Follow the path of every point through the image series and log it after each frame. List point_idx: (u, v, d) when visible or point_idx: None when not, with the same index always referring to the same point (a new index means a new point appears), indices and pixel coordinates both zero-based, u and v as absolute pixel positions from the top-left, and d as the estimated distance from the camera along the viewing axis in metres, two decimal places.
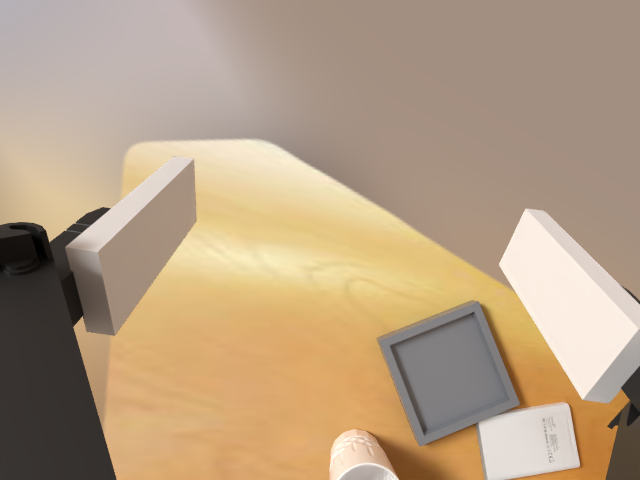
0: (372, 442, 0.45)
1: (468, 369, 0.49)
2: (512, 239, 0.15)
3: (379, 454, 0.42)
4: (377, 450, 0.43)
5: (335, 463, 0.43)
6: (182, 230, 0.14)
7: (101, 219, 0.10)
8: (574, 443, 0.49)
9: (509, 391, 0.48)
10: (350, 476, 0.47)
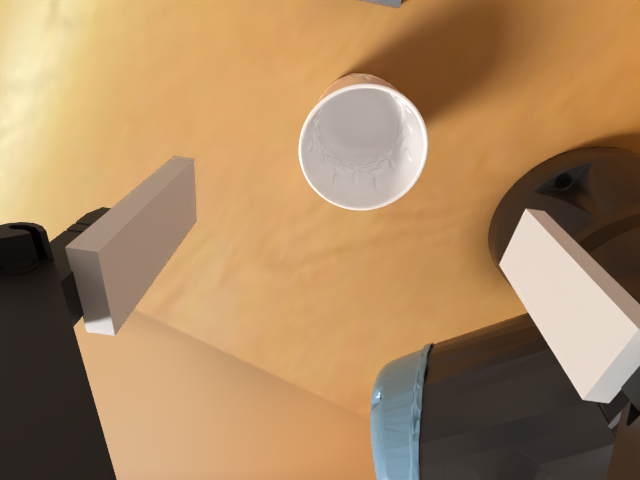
0: (333, 84, 0.27)
1: None
2: (512, 239, 0.15)
3: (333, 87, 0.24)
4: (333, 85, 0.25)
5: None
6: (182, 230, 0.14)
7: (101, 219, 0.10)
8: None
9: None
10: (369, 141, 0.31)
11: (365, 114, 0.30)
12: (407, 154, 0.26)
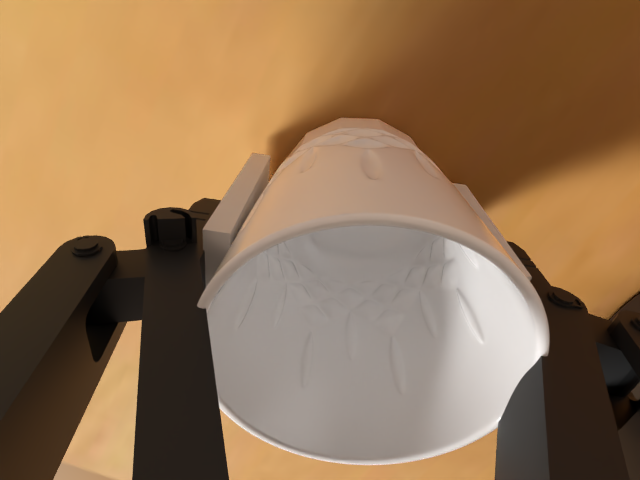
0: (296, 154, 0.12)
1: None
2: None
3: (283, 184, 0.10)
4: (288, 172, 0.10)
5: None
6: None
7: (219, 207, 0.11)
8: None
9: None
10: (376, 243, 0.16)
11: None
12: (466, 315, 0.11)
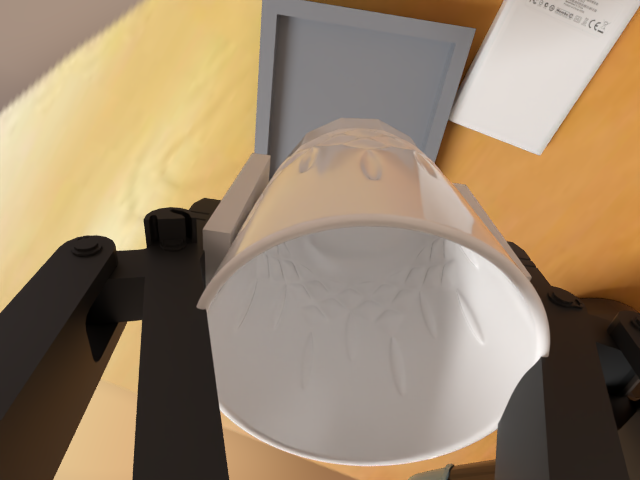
0: (296, 154, 0.12)
1: (370, 80, 0.27)
2: None
3: (282, 185, 0.10)
4: (288, 172, 0.10)
5: None
6: None
7: (219, 207, 0.11)
8: None
9: (442, 35, 0.25)
10: (376, 243, 0.16)
11: None
12: (467, 316, 0.11)
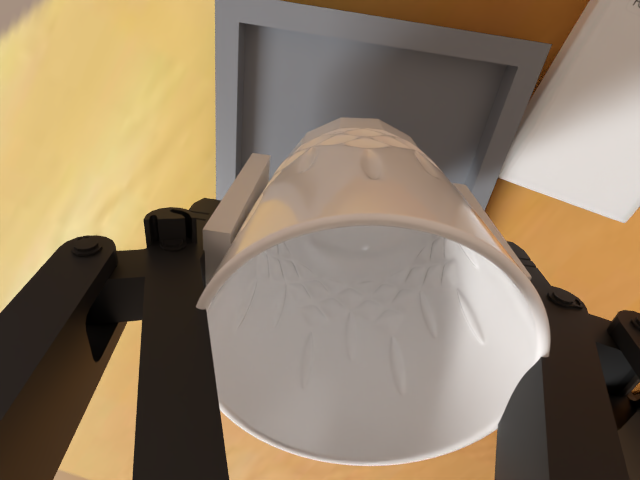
0: (296, 154, 0.12)
1: (383, 118, 0.19)
2: None
3: (282, 184, 0.09)
4: (288, 172, 0.10)
5: None
6: None
7: (219, 207, 0.11)
8: None
9: (498, 54, 0.16)
10: (376, 243, 0.16)
11: None
12: (467, 315, 0.11)
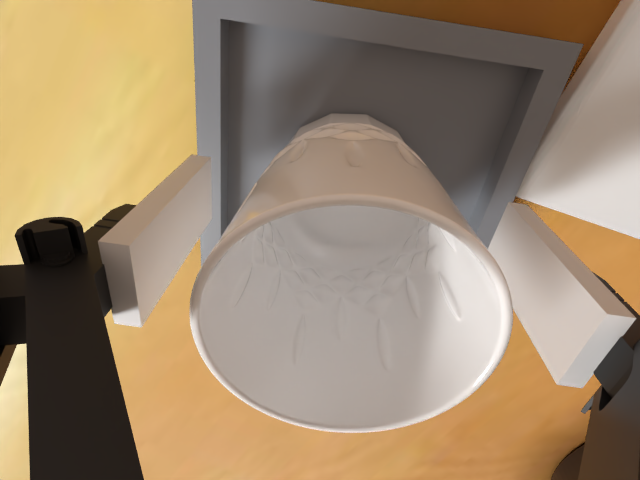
0: (288, 147, 0.13)
1: None
2: (496, 232, 0.15)
3: (274, 173, 0.10)
4: (279, 163, 0.11)
5: None
6: (200, 227, 0.14)
7: (128, 215, 0.10)
8: None
9: (520, 55, 0.14)
10: (366, 233, 0.17)
11: None
12: (446, 295, 0.12)
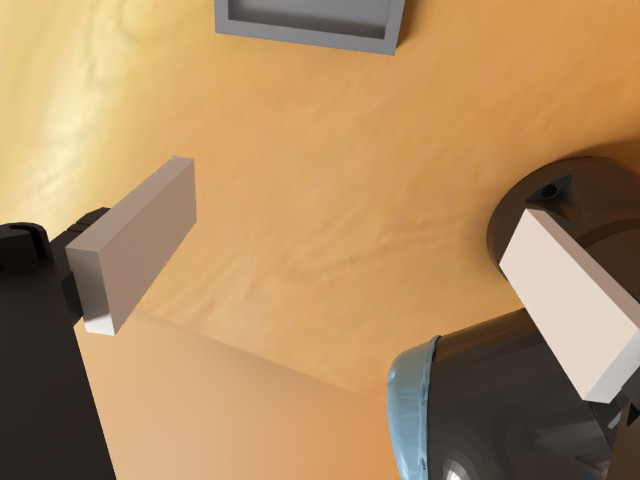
0: None
1: None
2: (512, 239, 0.15)
3: None
4: None
5: None
6: (182, 231, 0.14)
7: (100, 219, 0.10)
8: None
9: None
10: None
11: None
12: None
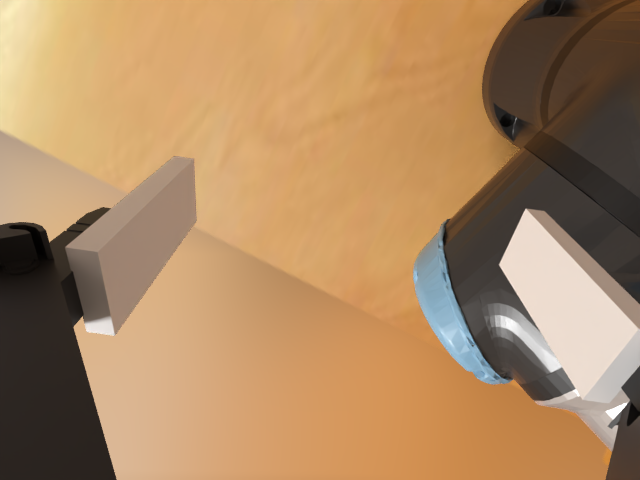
0: None
1: None
2: (512, 239, 0.15)
3: None
4: None
5: None
6: (182, 231, 0.14)
7: (100, 219, 0.10)
8: None
9: None
10: None
11: None
12: None
